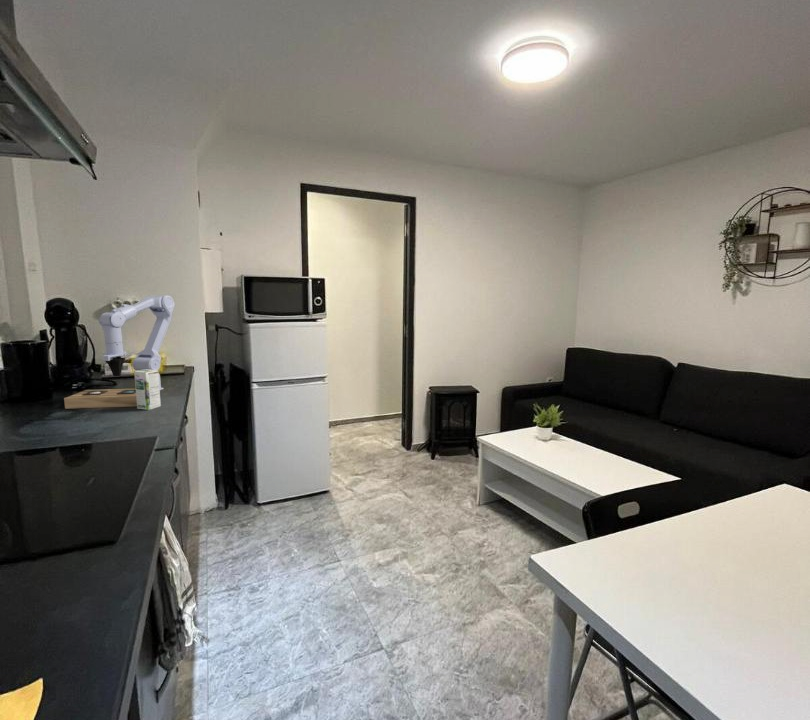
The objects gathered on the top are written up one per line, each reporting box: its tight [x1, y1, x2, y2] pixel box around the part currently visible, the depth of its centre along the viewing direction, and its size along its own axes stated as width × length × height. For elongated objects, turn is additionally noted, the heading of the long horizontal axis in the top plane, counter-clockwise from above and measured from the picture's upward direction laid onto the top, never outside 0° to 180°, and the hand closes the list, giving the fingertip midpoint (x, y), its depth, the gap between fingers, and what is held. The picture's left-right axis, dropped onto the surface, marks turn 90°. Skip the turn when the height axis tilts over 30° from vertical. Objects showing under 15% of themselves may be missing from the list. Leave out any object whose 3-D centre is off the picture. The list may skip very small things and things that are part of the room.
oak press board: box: [63, 388, 137, 410], centre depth 163 cm, size 14×26×4 cm, turn 100°
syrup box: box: [133, 369, 162, 411], centre depth 155 cm, size 6×6×14 cm
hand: (117, 375), depth 166 cm, fingers closed
